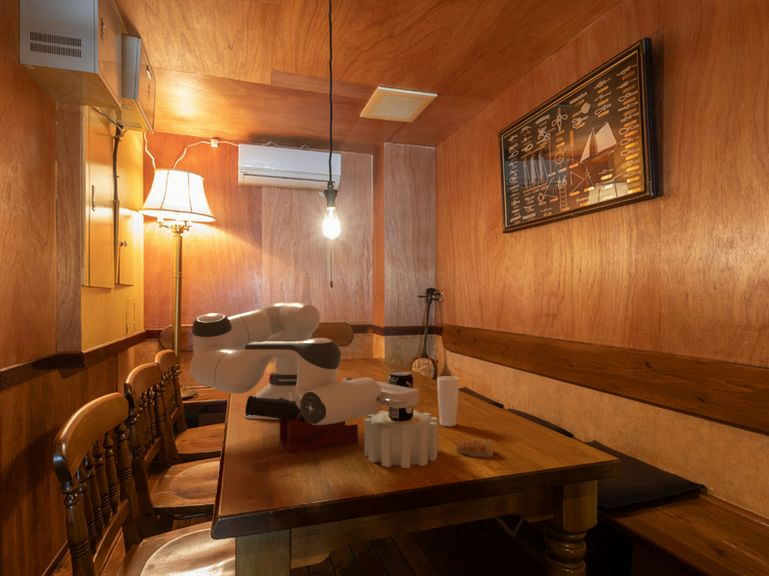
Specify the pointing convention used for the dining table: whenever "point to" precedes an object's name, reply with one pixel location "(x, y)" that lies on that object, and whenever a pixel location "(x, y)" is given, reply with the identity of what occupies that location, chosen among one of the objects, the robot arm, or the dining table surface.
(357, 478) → the dining table surface
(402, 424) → the gear pedestal
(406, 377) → the beverage can
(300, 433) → the cannon model
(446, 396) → the drinking glass
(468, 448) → the pastry
